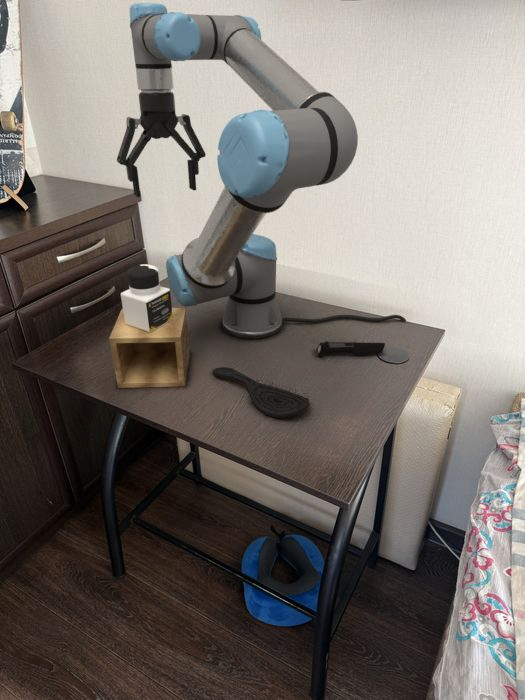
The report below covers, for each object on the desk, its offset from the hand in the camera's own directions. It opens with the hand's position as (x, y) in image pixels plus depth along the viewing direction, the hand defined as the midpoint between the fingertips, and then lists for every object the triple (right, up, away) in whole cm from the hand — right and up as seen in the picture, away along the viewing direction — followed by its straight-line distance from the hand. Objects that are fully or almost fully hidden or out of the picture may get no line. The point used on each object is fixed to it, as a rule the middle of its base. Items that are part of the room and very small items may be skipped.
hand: (165, 192), depth 118 cm
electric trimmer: (+43, -38, -1) cm, 58 cm away
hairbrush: (+22, -46, -15) cm, 54 cm away
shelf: (-1, -42, -8) cm, 42 cm away
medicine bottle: (-1, -31, -14) cm, 34 cm away
